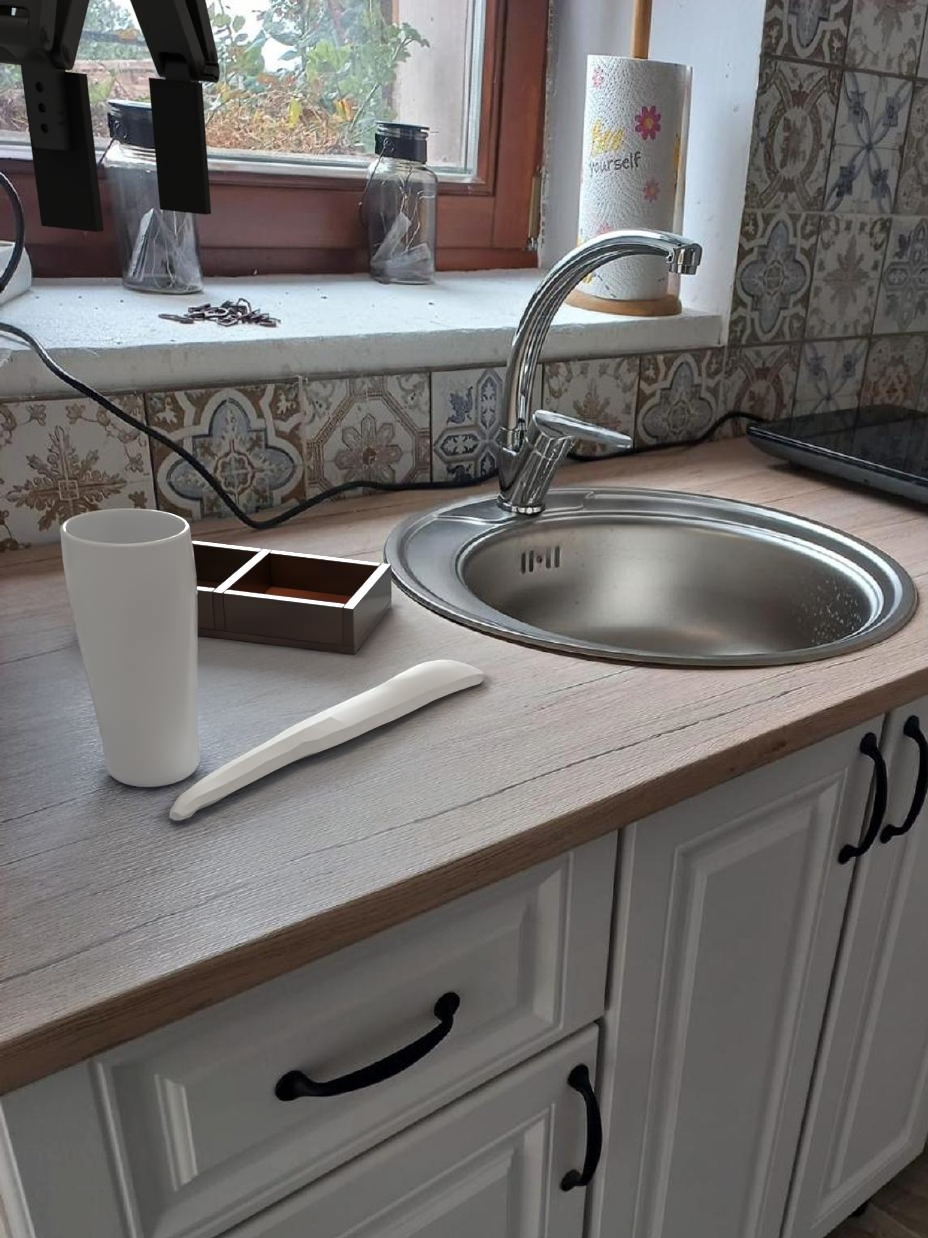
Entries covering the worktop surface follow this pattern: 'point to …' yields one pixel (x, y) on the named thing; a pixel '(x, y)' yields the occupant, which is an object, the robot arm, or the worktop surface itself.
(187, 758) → the drinking glass
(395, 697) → the white long thin piece
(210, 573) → the divided tray
